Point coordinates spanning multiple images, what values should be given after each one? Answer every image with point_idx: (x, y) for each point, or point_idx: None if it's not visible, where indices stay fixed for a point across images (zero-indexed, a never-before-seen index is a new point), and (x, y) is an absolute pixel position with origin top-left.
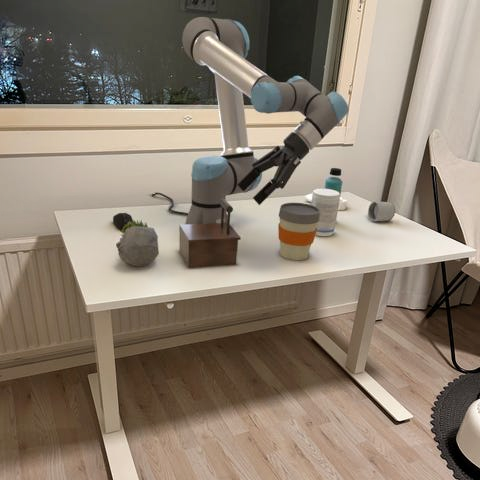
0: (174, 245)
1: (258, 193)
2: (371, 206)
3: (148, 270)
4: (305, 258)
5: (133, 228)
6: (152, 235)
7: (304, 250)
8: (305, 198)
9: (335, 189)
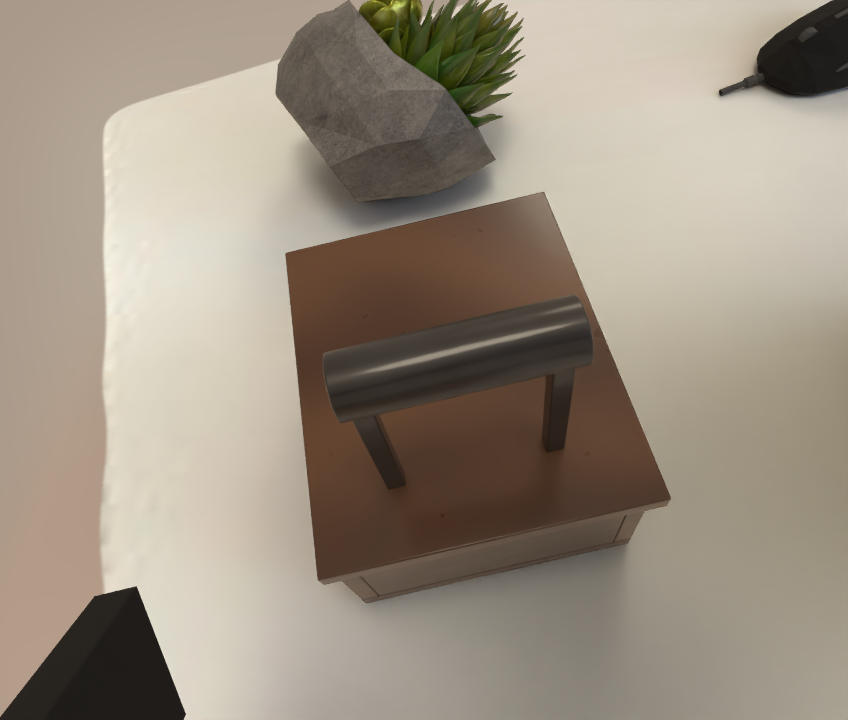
0: (621, 273)
1: (44, 673)
2: None
3: (320, 209)
4: None
5: (336, 13)
6: (356, 105)
7: None
8: None
9: None
